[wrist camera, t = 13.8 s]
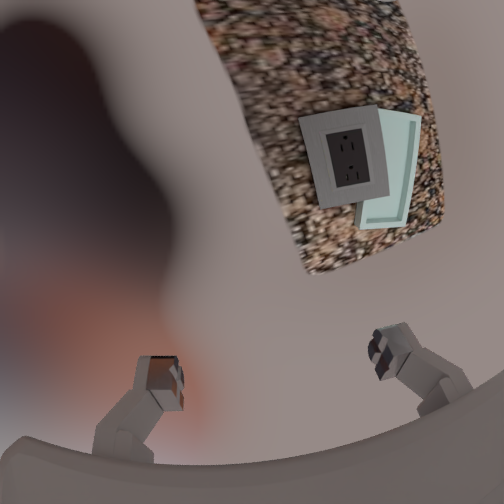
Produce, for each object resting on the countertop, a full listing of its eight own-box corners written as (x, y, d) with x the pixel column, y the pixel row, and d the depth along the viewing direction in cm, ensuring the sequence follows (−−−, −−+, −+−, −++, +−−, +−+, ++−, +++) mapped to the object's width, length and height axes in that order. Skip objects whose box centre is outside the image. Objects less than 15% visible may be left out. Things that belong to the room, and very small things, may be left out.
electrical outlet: (297, 116, 33) (298, 118, 31) (372, 103, 30) (377, 104, 28) (318, 203, 40) (320, 210, 38) (385, 190, 37) (390, 196, 35)
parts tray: (364, 106, 32) (371, 107, 30) (413, 114, 32) (421, 116, 31) (354, 223, 42) (359, 229, 40) (398, 221, 42) (405, 226, 41)
